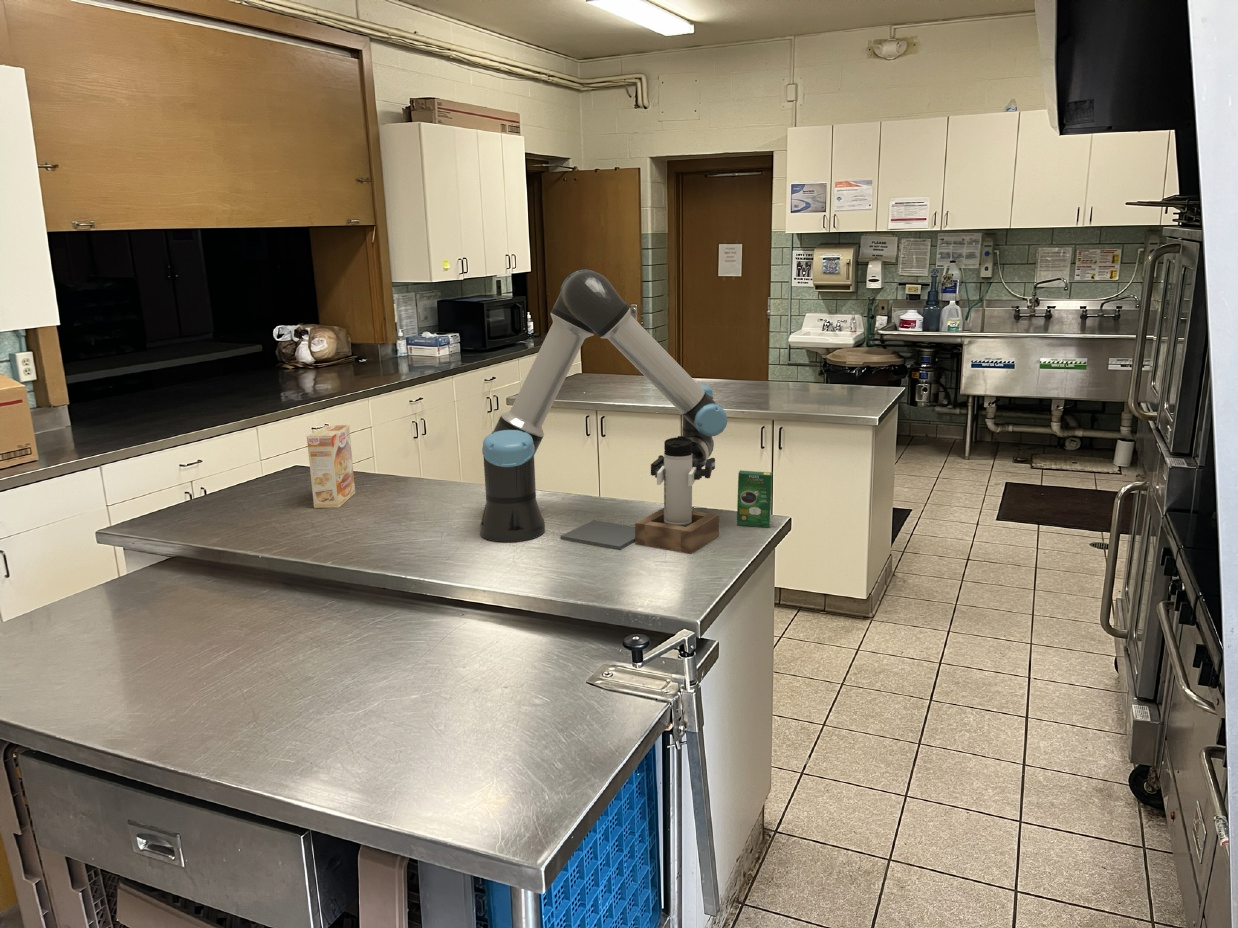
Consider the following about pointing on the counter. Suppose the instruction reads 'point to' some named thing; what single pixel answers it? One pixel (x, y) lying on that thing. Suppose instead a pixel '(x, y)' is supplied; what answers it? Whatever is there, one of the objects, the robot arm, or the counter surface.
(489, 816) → the counter surface
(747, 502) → the coffee box
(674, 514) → the travel mug
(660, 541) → the holder
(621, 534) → the mat
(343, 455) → the coffeecake box
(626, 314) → the robot arm
